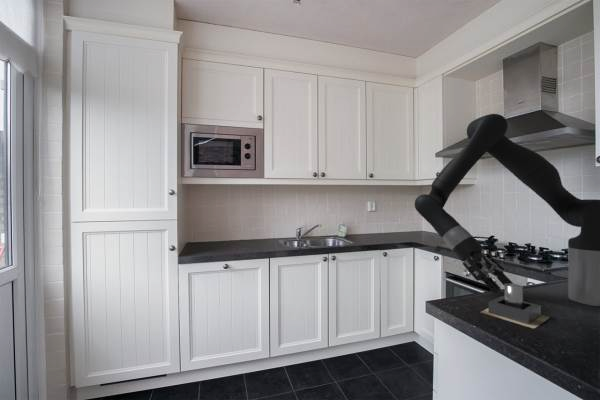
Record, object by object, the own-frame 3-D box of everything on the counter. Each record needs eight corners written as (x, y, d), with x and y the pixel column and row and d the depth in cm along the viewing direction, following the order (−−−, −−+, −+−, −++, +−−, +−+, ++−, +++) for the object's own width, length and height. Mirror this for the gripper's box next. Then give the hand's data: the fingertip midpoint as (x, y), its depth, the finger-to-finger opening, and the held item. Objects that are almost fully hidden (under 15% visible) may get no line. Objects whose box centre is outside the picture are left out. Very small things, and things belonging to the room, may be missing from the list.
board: (498, 306, 83) (498, 303, 83) (550, 321, 73) (550, 317, 73) (480, 315, 77) (480, 312, 77) (534, 332, 67) (534, 328, 67)
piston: (508, 310, 78) (508, 282, 78) (525, 315, 74) (525, 286, 74) (502, 313, 76) (501, 284, 76) (519, 318, 72) (519, 288, 72)
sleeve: (502, 305, 81) (502, 295, 81) (540, 316, 74) (540, 305, 74) (488, 312, 76) (488, 301, 76) (528, 324, 69) (528, 312, 69)
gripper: (459, 237, 80) (505, 286, 71) (481, 234, 88) (525, 277, 78) (441, 252, 85) (482, 300, 75) (464, 248, 92) (503, 291, 83)
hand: (504, 288), depth 77 cm, fingers open, 8 cm apart
